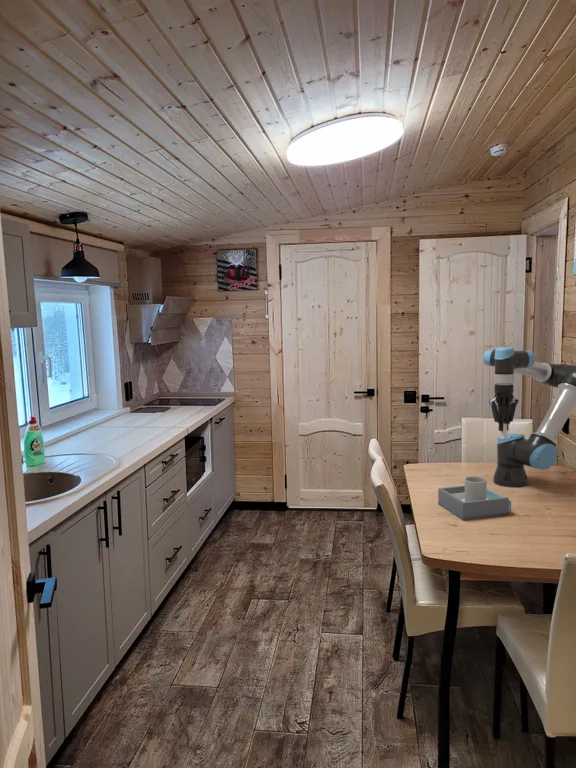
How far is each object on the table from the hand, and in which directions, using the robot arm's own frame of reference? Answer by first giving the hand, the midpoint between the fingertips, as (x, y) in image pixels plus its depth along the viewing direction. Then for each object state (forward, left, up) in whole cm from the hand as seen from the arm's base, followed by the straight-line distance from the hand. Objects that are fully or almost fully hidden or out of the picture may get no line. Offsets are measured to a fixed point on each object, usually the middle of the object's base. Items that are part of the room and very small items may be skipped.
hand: (503, 438), depth 238 cm
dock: (+20, +9, -26) cm, 34 cm away
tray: (+18, +9, -25) cm, 32 cm away
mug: (+18, +9, -25) cm, 32 cm away
